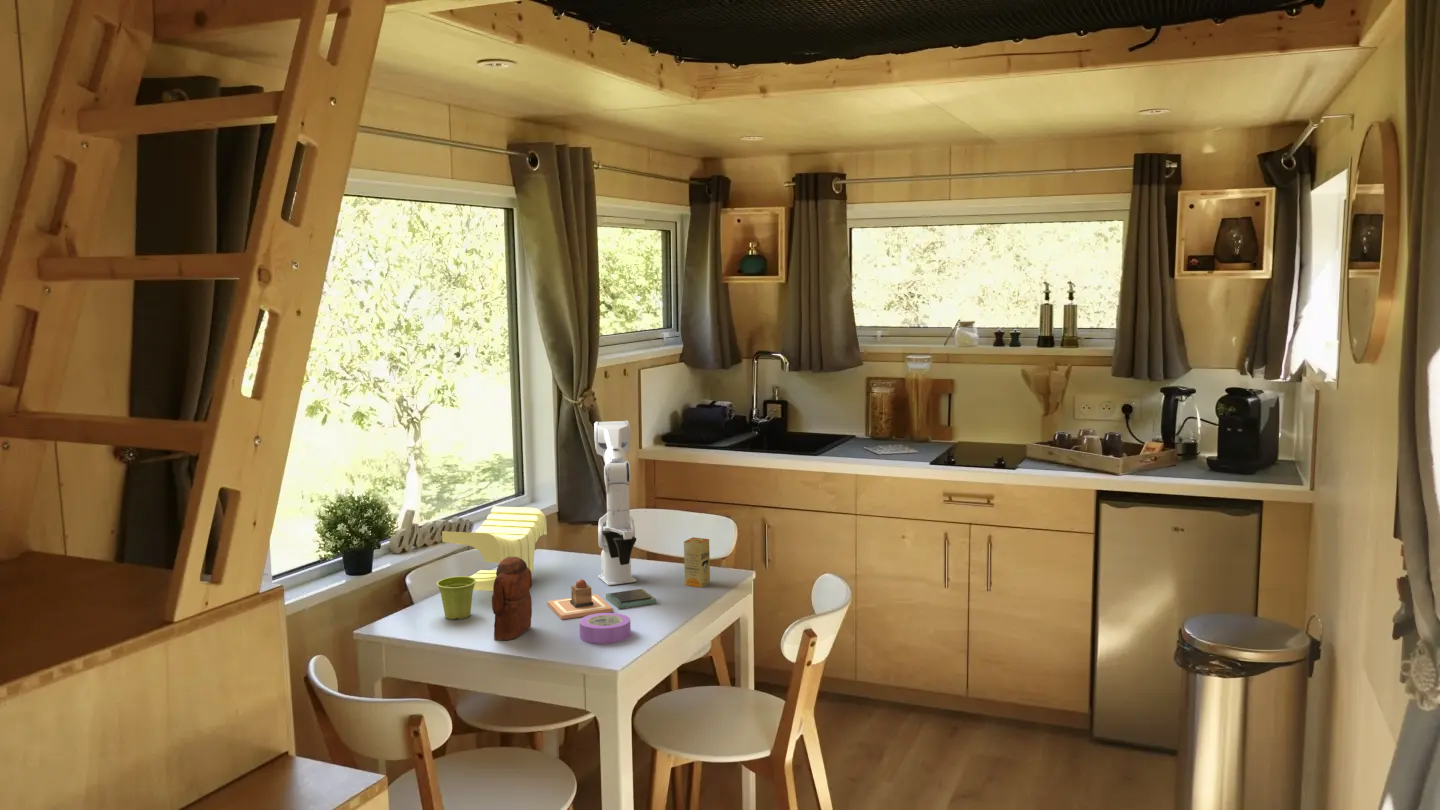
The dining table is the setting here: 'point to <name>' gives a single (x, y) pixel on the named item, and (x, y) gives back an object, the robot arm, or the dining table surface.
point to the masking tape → (605, 628)
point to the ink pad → (630, 598)
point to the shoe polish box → (697, 562)
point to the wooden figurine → (512, 599)
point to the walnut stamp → (581, 594)
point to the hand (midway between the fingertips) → (619, 560)
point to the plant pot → (457, 596)
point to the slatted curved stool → (503, 539)
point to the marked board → (569, 611)
